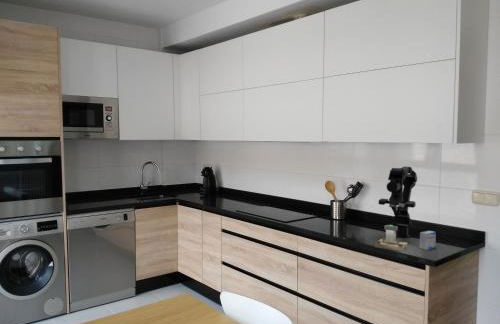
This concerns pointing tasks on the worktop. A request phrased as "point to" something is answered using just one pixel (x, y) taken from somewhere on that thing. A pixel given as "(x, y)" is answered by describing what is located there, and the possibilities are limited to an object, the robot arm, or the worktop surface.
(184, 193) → the worktop surface
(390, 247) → the tribrach base
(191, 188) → the worktop surface
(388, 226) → the white plastic container
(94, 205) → the worktop surface
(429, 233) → the medicine box
